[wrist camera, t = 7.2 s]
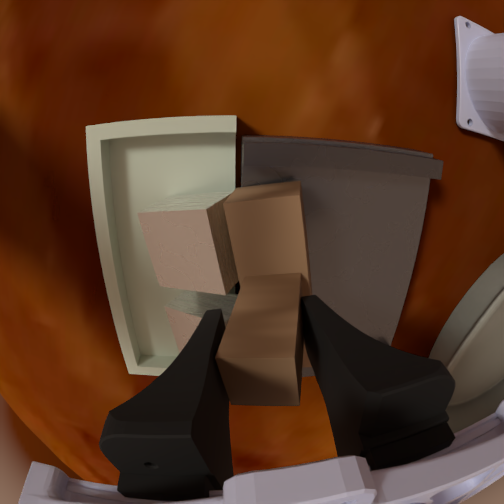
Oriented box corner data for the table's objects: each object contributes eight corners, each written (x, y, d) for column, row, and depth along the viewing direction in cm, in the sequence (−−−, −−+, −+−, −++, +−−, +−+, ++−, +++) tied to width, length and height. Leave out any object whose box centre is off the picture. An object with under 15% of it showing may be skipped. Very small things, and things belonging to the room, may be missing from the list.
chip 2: (251, 297, 16) (223, 324, 14) (260, 354, 18) (236, 382, 16) (193, 284, 18) (164, 306, 16) (207, 337, 20) (182, 360, 18)
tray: (235, 116, 15) (236, 115, 14) (235, 361, 21) (236, 377, 20) (98, 124, 14) (85, 126, 13) (133, 358, 21) (128, 373, 19)
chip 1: (235, 191, 14) (205, 209, 12) (249, 268, 16) (225, 295, 14) (169, 196, 16) (137, 212, 14) (186, 263, 18) (159, 286, 16)
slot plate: (414, 149, 16) (443, 157, 13) (376, 341, 22) (391, 367, 19) (241, 134, 15) (243, 138, 13) (239, 350, 21) (241, 382, 18)
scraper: (300, 180, 14) (294, 253, 7) (315, 336, 18) (310, 448, 11) (236, 188, 15) (175, 262, 8) (264, 338, 18) (240, 447, 12)
